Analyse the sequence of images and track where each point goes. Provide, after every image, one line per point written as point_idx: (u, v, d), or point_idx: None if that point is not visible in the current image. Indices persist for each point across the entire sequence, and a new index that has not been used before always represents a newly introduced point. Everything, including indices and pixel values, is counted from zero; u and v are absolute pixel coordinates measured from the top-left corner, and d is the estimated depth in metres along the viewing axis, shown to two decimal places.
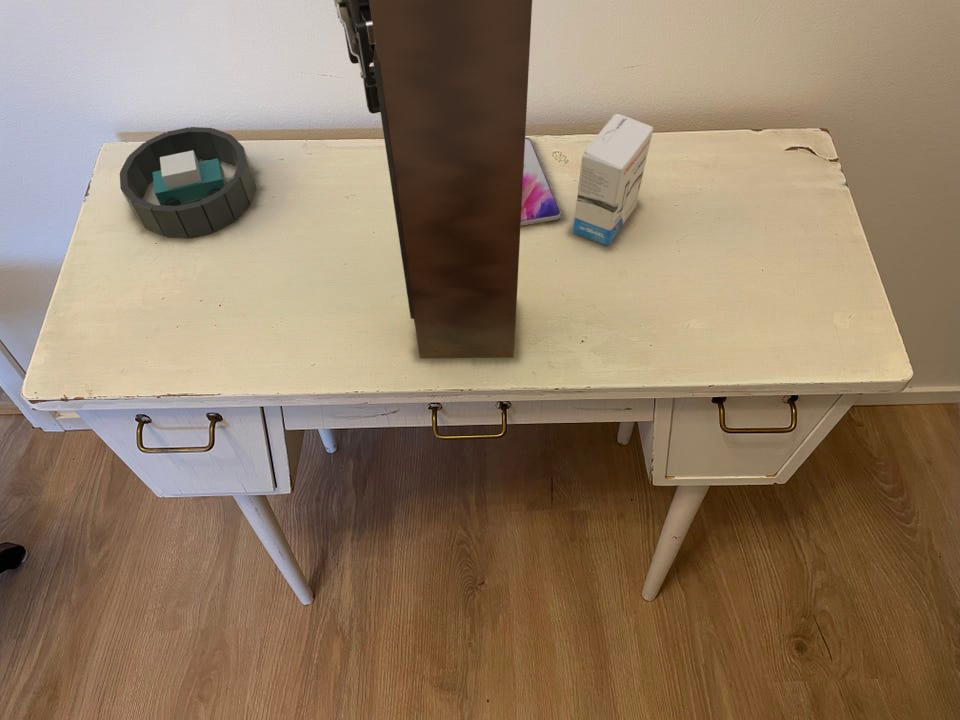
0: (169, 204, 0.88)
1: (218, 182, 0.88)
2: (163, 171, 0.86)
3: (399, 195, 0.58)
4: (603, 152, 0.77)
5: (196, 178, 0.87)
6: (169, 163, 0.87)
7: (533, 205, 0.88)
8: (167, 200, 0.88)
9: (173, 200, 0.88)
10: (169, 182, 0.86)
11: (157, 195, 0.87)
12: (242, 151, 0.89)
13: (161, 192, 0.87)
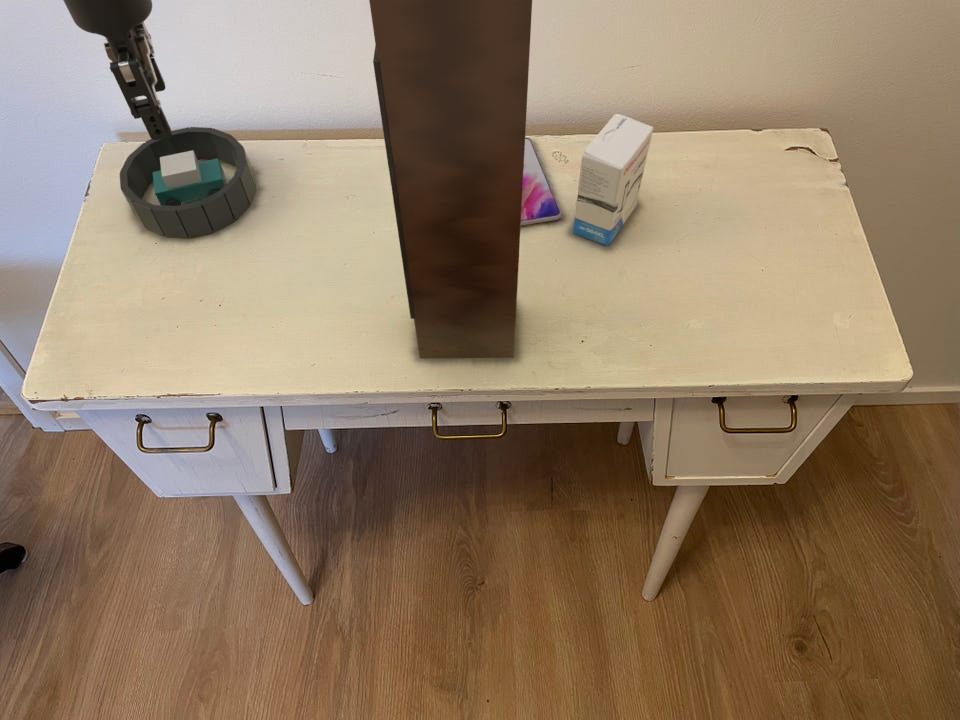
0: (169, 204, 0.88)
1: (218, 182, 0.88)
2: (163, 171, 0.86)
3: (399, 195, 0.58)
4: (603, 152, 0.77)
5: (196, 178, 0.87)
6: (169, 163, 0.87)
7: (533, 205, 0.88)
8: (167, 200, 0.88)
9: (173, 200, 0.88)
10: (169, 182, 0.86)
11: (157, 195, 0.87)
12: (242, 151, 0.89)
13: (161, 192, 0.87)
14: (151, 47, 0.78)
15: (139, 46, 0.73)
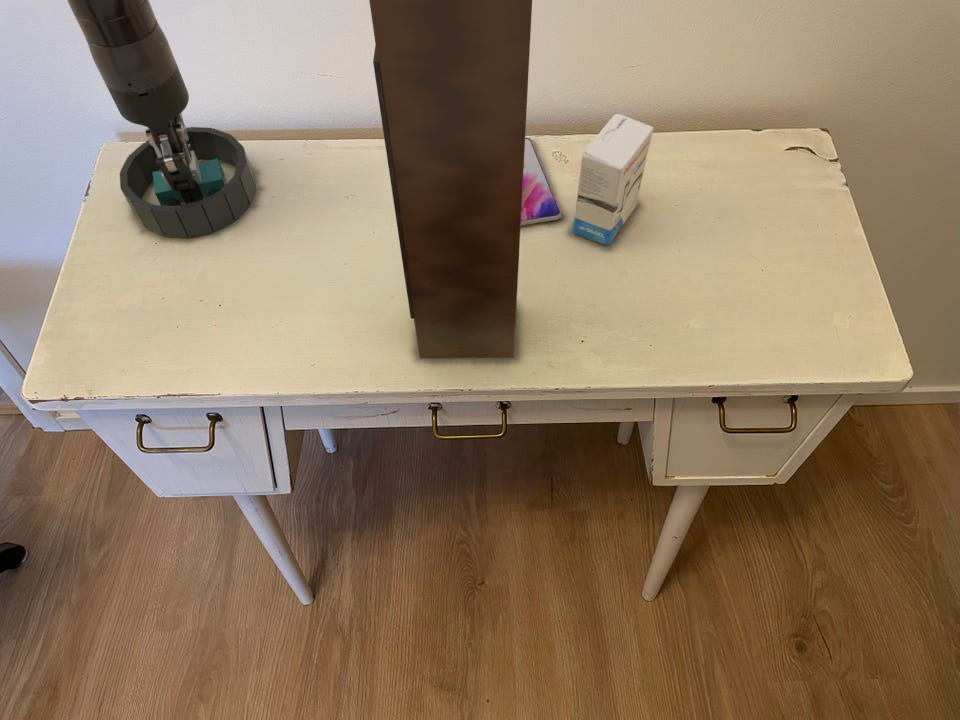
0: (169, 204, 0.88)
1: (217, 182, 0.88)
2: None
3: (399, 195, 0.58)
4: (603, 152, 0.77)
5: (196, 178, 0.87)
6: None
7: (533, 205, 0.88)
8: (167, 200, 0.88)
9: (173, 200, 0.88)
10: None
11: (157, 195, 0.87)
12: (242, 151, 0.89)
13: (161, 192, 0.87)
14: (187, 137, 0.86)
15: (176, 132, 0.81)
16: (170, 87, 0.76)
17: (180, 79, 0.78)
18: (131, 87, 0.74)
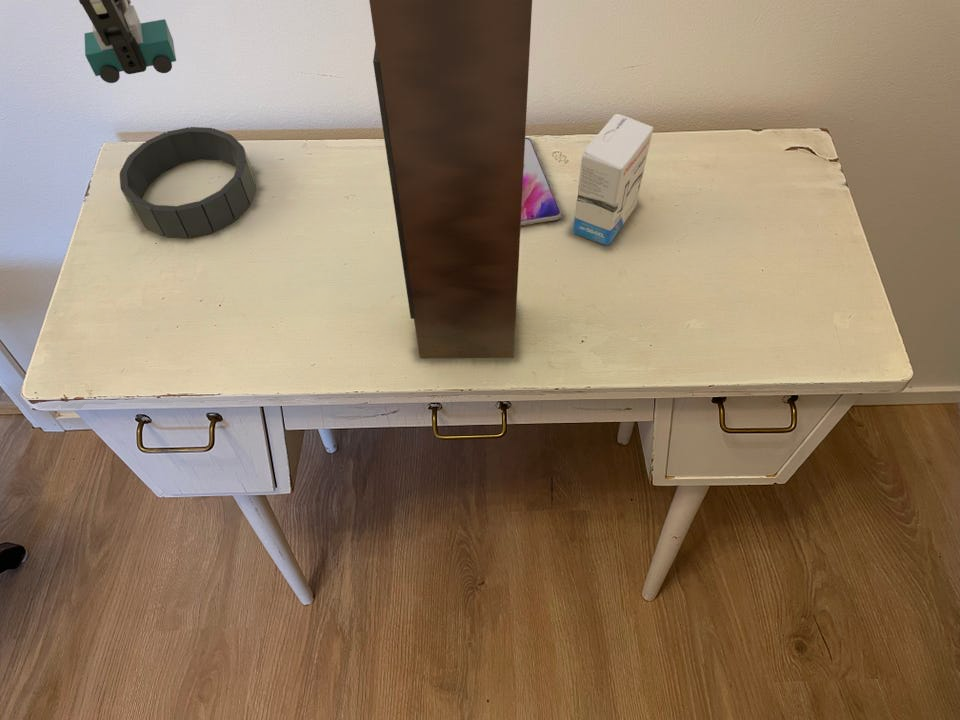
0: (104, 71, 0.73)
1: (163, 45, 0.73)
2: None
3: (399, 195, 0.58)
4: (603, 152, 0.77)
5: (136, 37, 0.72)
6: None
7: (533, 205, 0.88)
8: (101, 66, 0.73)
9: (109, 66, 0.73)
10: None
11: (88, 58, 0.71)
12: (242, 151, 0.89)
13: (93, 53, 0.71)
14: None
15: None
16: None
17: None
18: None
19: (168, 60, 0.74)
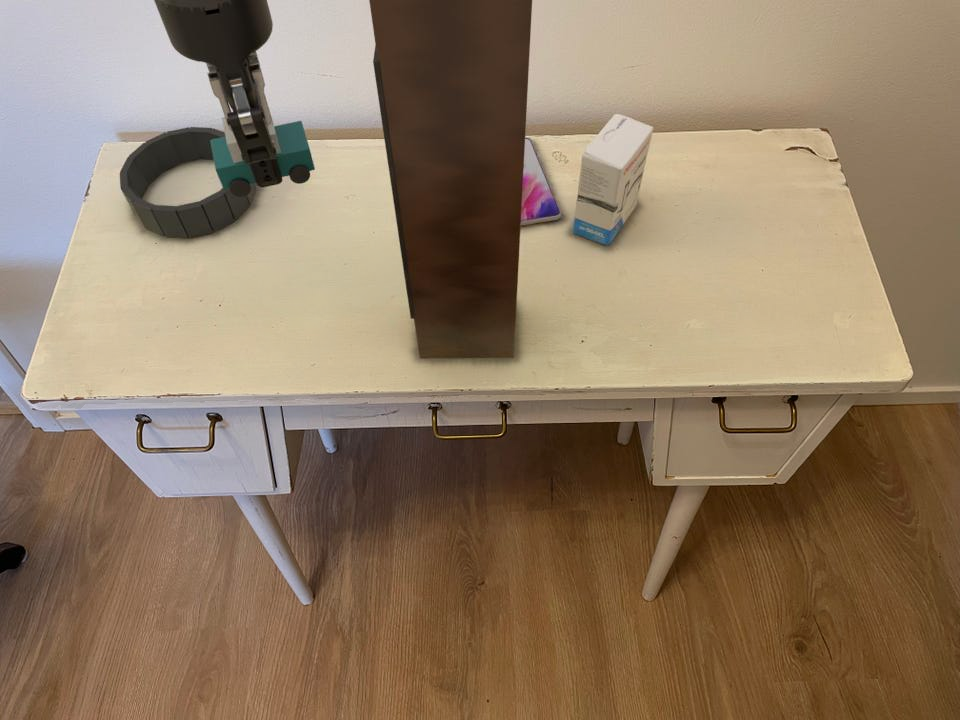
0: (235, 185, 0.62)
1: (303, 154, 0.62)
2: (228, 137, 0.60)
3: (399, 195, 0.58)
4: (603, 152, 0.77)
5: None
6: None
7: (533, 205, 0.88)
8: (232, 179, 0.62)
9: (241, 179, 0.62)
10: (236, 153, 0.60)
11: (219, 172, 0.61)
12: None
13: (225, 167, 0.61)
14: None
15: (253, 77, 0.55)
16: (251, 3, 0.50)
17: None
18: None
19: (307, 170, 0.63)
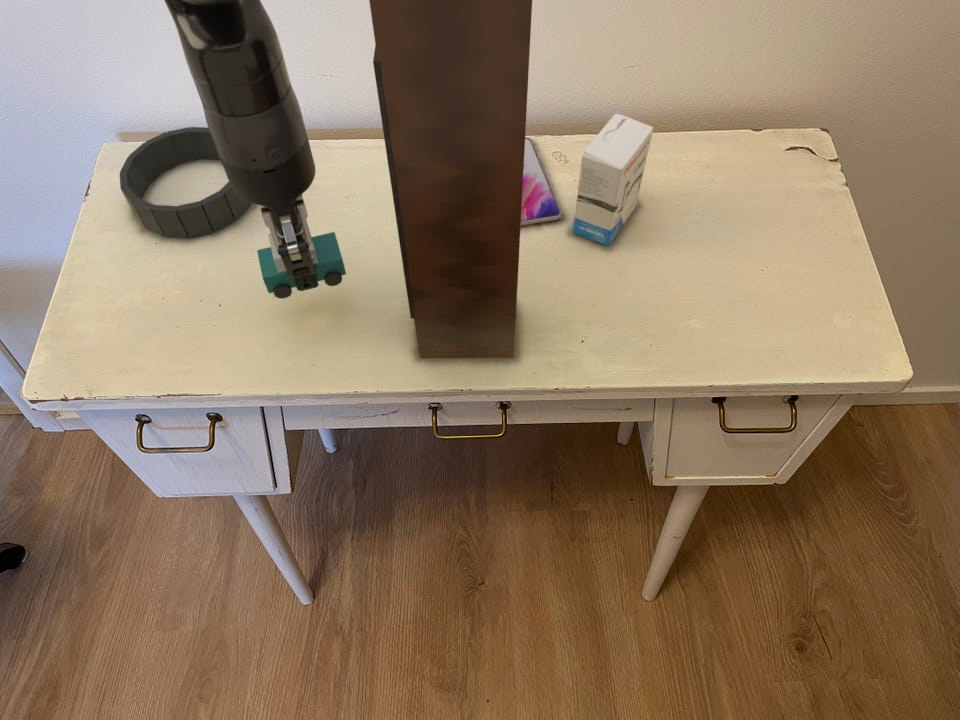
0: (278, 290, 0.73)
1: (337, 263, 0.73)
2: (274, 252, 0.70)
3: (399, 195, 0.58)
4: (603, 152, 0.77)
5: None
6: None
7: (533, 205, 0.88)
8: (276, 285, 0.73)
9: (284, 285, 0.73)
10: (281, 265, 0.71)
11: (265, 280, 0.72)
12: None
13: (270, 276, 0.71)
14: None
15: (298, 210, 0.66)
16: (300, 160, 0.61)
17: (309, 148, 0.62)
18: (256, 163, 0.58)
19: (339, 275, 0.74)
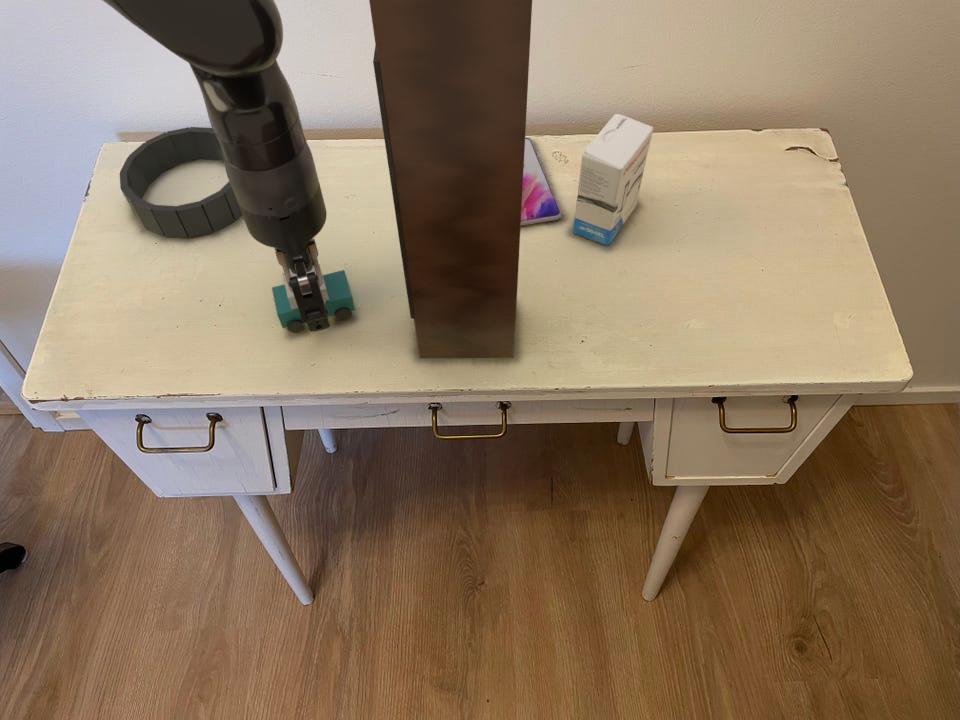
0: (292, 325, 0.78)
1: (346, 300, 0.78)
2: (288, 291, 0.75)
3: (399, 195, 0.58)
4: (603, 152, 0.77)
5: (324, 297, 0.77)
6: None
7: (533, 205, 0.88)
8: (289, 321, 0.78)
9: (297, 320, 0.78)
10: (294, 303, 0.76)
11: (280, 316, 0.77)
12: None
13: (285, 313, 0.76)
14: None
15: (310, 250, 0.70)
16: (313, 207, 0.65)
17: (321, 195, 0.67)
18: (272, 211, 0.63)
19: (349, 311, 0.79)
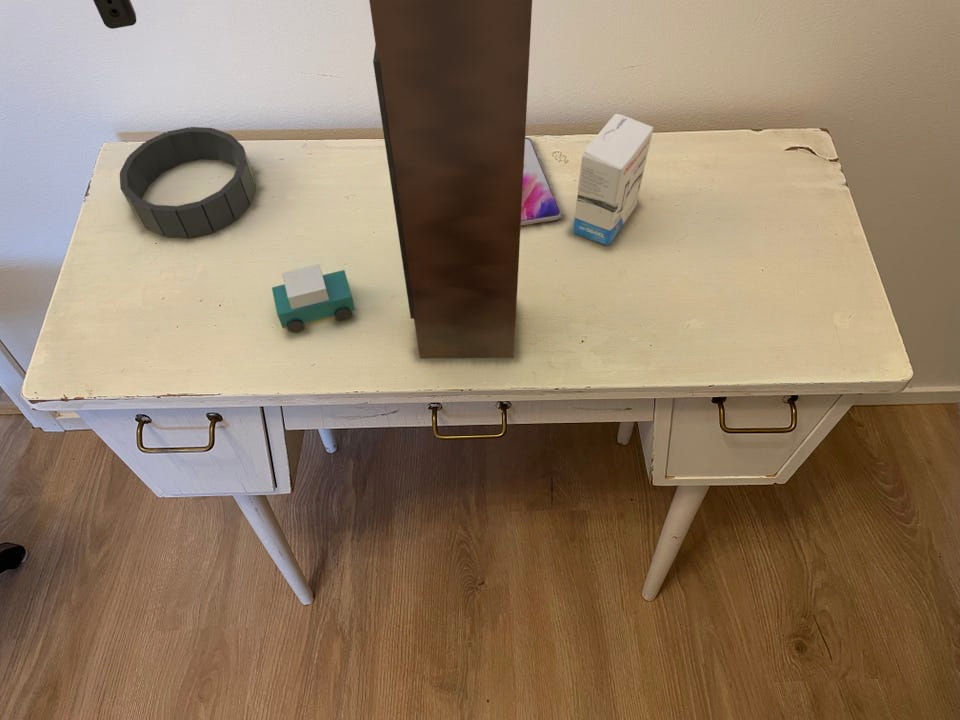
0: (292, 325, 0.78)
1: (346, 300, 0.78)
2: (288, 291, 0.75)
3: (399, 195, 0.58)
4: (603, 152, 0.77)
5: (324, 297, 0.77)
6: (294, 280, 0.76)
7: (533, 205, 0.88)
8: (289, 321, 0.78)
9: (297, 320, 0.78)
10: (294, 303, 0.76)
11: (280, 316, 0.77)
12: (242, 151, 0.89)
13: (285, 313, 0.76)
14: None
15: None
16: None
17: None
18: None
19: (349, 311, 0.79)
